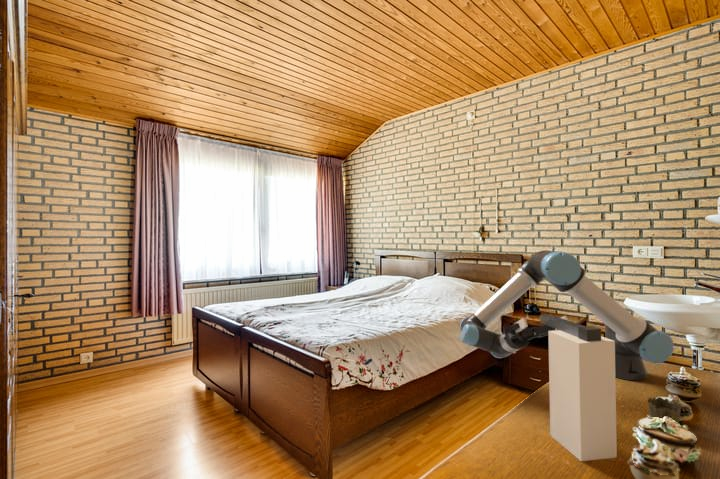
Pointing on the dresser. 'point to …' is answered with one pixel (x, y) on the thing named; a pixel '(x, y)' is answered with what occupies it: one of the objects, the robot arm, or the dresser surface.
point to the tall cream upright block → (583, 395)
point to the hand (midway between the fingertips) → (546, 320)
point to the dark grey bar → (572, 328)
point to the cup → (664, 408)
